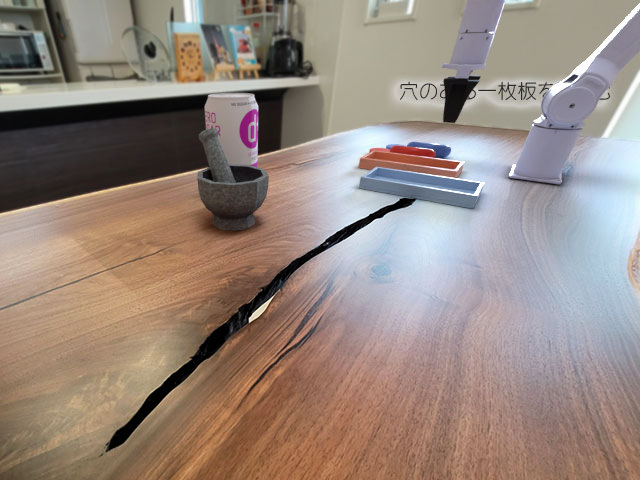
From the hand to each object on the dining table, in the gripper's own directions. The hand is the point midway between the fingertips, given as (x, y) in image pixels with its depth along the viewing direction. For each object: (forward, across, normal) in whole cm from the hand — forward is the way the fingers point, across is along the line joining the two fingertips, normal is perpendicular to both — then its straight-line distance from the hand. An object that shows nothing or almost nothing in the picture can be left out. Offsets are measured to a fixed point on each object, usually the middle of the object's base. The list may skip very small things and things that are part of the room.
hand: (450, 119), depth 70 cm
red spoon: (+9, -4, -8) cm, 13 cm away
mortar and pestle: (+9, +46, -23) cm, 52 cm away
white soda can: (+9, +35, -29) cm, 47 cm away
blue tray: (+9, +19, -1) cm, 21 cm away
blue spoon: (+9, -10, -5) cm, 14 cm away
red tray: (+9, +6, -5) cm, 12 cm away
